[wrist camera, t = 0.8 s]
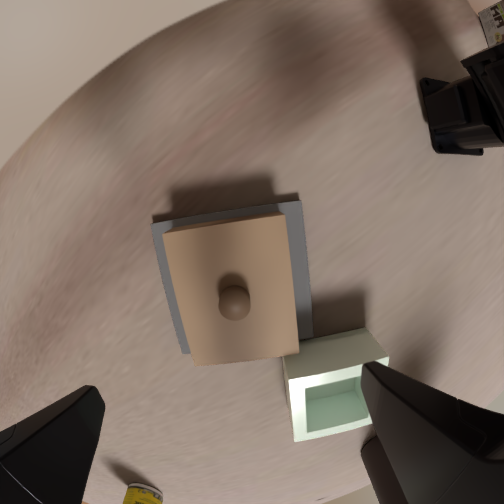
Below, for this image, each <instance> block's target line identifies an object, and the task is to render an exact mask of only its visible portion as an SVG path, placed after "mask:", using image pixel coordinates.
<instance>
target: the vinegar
mask: <svg viewBox="0 0 504 504" xmlns="http://www.w3.org/2000/svg"><path fill="white" fill-rule="evenodd" d="M361 457H362V460H363V463H364V465H365V468H366V470H367V473H368V475H369V478H370V480H371V483H372V485H373V488H374V490H375V493H376V496H377V498H378V501H379V503H380V504H409V503H408V501H407V499H406V496H405V494H404V492H403V489H402V487H401V485H400V483H399V480H398V478H397V476H396V474H395V471H394V469H393V467H392V465H391V463H390V460H389V458H388V456H387V454H386V452H385V450H384V448H383V445H382V443H381V441H380V439H379V437H378V435H377V436H376V437H374V438H373V439H371V440H370V441H369V442H368V443H367V444H366V445H365V447H364V448H363V449H362V452H361Z"/></svg>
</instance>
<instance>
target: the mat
mask: <svg viewBox="0 0 504 504" xmlns="http://www.w3.org/2000/svg"><path fill="white" fill-rule="evenodd" d="M277 211H280V212H281V213H283V214H285V219H286V227H287V235H288V243H289V251H290V260H291V269H292V278H293V288H294V298H295V308H296V319H297V330H298V340H300V339H306V338H311V337H314V335H313V319H312V304H311V291H310V279H309V267H308V257H307V247H306V237H305V228H304V220H303V211H302V203H301V200H297V201H289V202H281V203H274V204H267V205H260V206H253V207H246V208H239V209H233V210H226V211H220V212H214V213H207V214H201V215H196V216H190V217H184V218H178V219H173V220H167V221H162V222H157V223H152V224H151V229H152V235H153V240H154V245H155V249H156V254H157V259H158V263H159V268H160V272H161V277H162V281H163V285H164V289H165V293H166V297H167V301H168V305H169V309H170V312H171V316H172V320H173V323H174V327H175V330H176V334H177V337H178V341H179V344H180V347H181V351H182V354H191V351H190V348H189V345H188V341H187V337H186V334H185V330H184V327H183V323H182V319H181V315H180V311H179V308H178V304H177V300H176V295H175V291H174V287H173V283H172V279H171V274H170V270H169V265H168V260H167V256H166V251H165V246H164V241H163V236H162V234H163V233H165V232H166V231H168V230H170V229H172V228H175V227H180V226H186V225H192V224H198V223H204V222H210V221H217V220H223V219H229V218H236V217H243V216H249V215H256V214H263V213H270V212H277Z"/></svg>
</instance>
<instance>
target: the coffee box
mask: <svg viewBox="0 0 504 504" xmlns="http://www.w3.org/2000/svg"><path fill="white" fill-rule="evenodd" d="M478 14H479V17H480V20H481V23H482V26H483V29H484V32H485V35H486V39H487V42H488V46H489V47H490V46H492V45H495V44H497V43H499V42H502V41H504V0H502V1H500V2H498V3H496V4H494V5H492V6H490V7H488V8H486V9H484V10H483V11H481V12H479V13H478Z"/></svg>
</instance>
